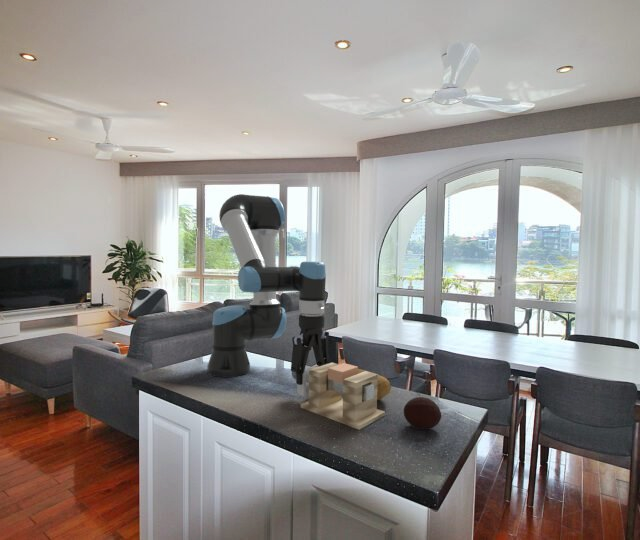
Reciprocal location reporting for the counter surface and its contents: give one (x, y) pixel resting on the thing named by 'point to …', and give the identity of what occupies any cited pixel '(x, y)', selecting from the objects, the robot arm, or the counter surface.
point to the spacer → (341, 372)
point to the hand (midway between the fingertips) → (310, 391)
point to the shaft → (338, 387)
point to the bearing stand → (348, 407)
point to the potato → (381, 386)
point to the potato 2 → (422, 413)
